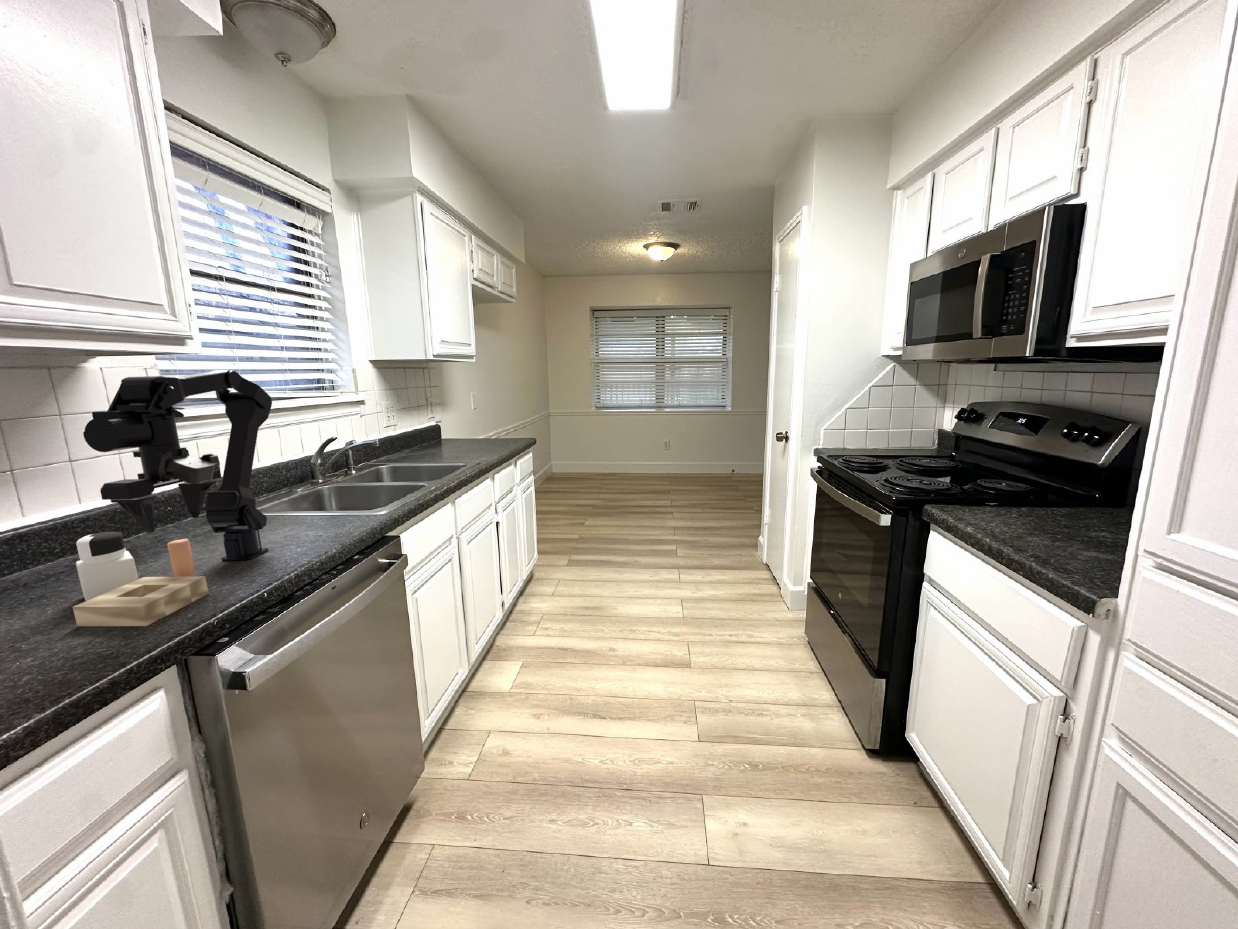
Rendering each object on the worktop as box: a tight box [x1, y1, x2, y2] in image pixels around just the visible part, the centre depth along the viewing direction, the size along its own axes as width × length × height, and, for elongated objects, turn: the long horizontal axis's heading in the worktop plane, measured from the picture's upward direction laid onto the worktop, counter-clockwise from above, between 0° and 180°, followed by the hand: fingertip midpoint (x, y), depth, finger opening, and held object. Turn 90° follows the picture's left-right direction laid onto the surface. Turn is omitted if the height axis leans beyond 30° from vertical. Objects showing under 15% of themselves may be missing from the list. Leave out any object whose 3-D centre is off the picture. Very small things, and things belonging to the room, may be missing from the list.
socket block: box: [72, 575, 209, 627], centre depth 87 cm, size 12×12×4 cm
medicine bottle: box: [75, 531, 139, 601], centre depth 93 cm, size 7×7×12 cm
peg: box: [167, 538, 197, 577], centre depth 97 cm, size 3×3×9 cm
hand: (174, 524), depth 95 cm, fingers open, 9 cm apart
